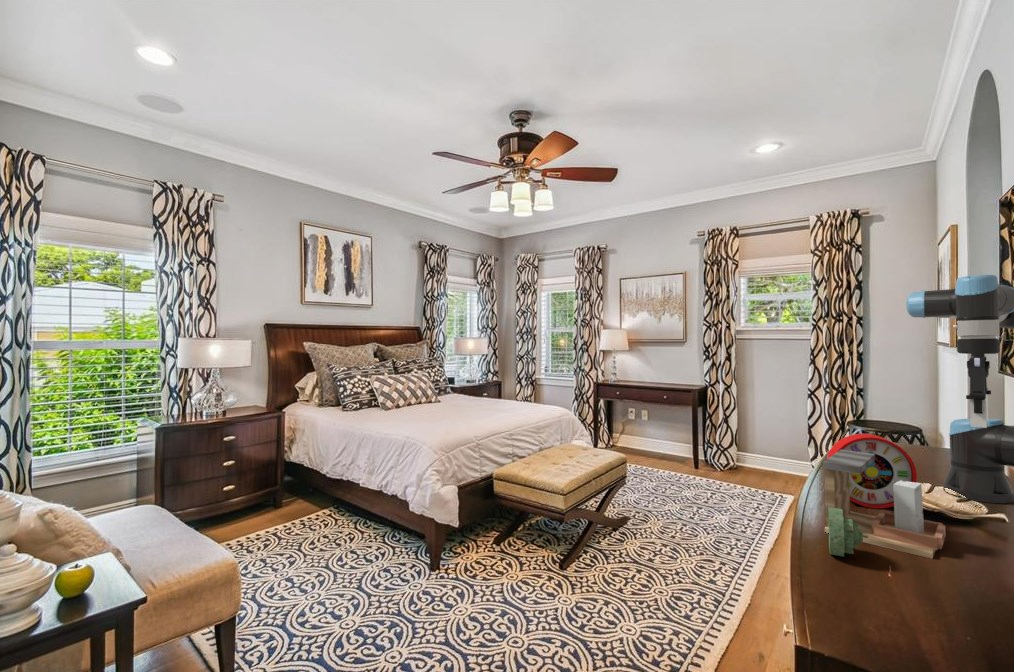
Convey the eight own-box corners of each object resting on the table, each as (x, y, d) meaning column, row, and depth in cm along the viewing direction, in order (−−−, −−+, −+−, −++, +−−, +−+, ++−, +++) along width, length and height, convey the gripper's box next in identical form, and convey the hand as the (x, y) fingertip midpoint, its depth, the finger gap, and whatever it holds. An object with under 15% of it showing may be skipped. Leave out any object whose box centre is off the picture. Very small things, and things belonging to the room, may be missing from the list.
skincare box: (917, 541, 109) (916, 488, 109) (893, 535, 113) (892, 484, 113) (924, 534, 113) (923, 483, 113) (901, 528, 116) (900, 479, 117)
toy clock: (831, 504, 138) (830, 435, 138) (826, 497, 143) (825, 431, 143) (918, 512, 130) (916, 439, 130) (909, 505, 136) (907, 435, 136)
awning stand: (841, 513, 130) (840, 449, 130) (947, 536, 114) (945, 463, 115) (824, 532, 118) (823, 461, 118) (939, 560, 102) (938, 478, 102)
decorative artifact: (828, 544, 111) (827, 501, 111) (866, 551, 107) (865, 507, 107) (830, 561, 103) (829, 515, 103) (870, 569, 99) (869, 521, 99)
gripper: (960, 337, 129) (962, 415, 129) (952, 338, 112) (955, 428, 112) (999, 337, 124) (1002, 418, 123) (998, 337, 106) (1001, 432, 106)
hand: (979, 423), depth 117 cm, fingers open, 13 cm apart
